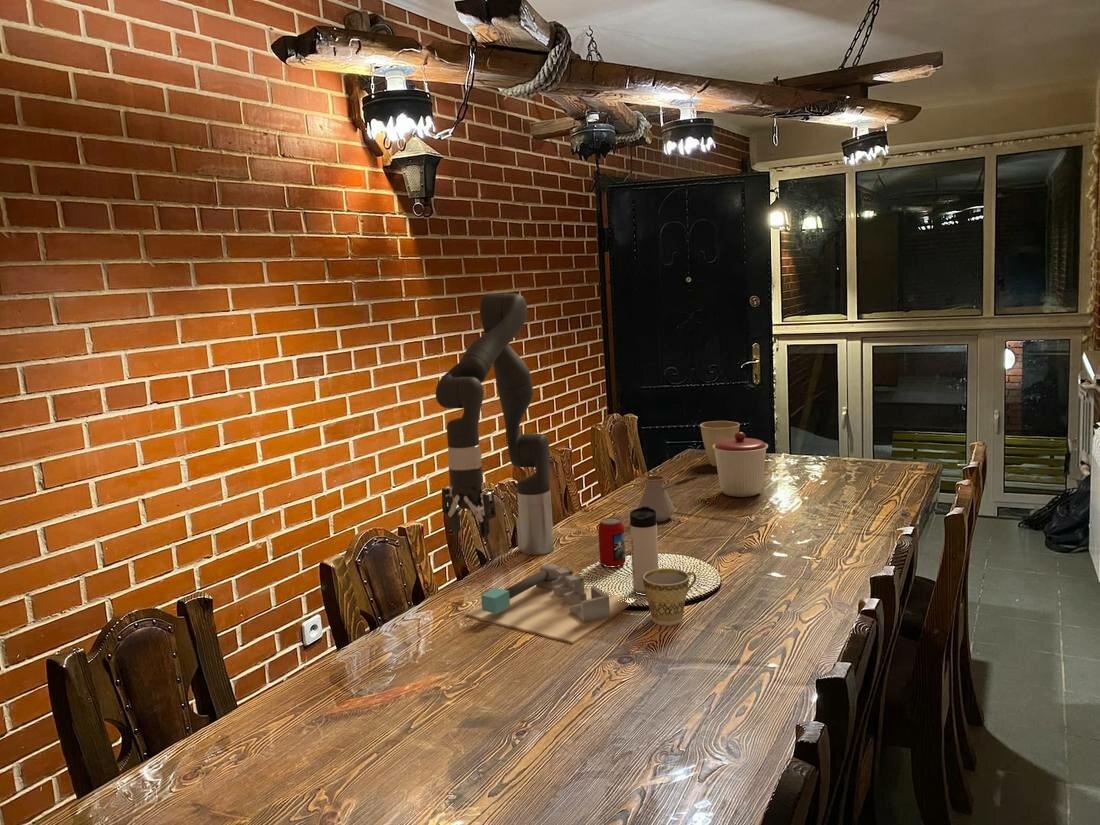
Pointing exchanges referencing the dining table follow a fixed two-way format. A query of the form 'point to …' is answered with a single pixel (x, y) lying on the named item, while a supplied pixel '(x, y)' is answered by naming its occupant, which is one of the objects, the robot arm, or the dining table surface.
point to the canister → (740, 465)
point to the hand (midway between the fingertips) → (470, 534)
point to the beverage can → (611, 542)
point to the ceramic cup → (667, 594)
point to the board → (547, 613)
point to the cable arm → (515, 589)
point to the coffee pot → (659, 496)
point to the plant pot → (717, 435)
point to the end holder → (593, 607)
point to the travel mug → (643, 545)
